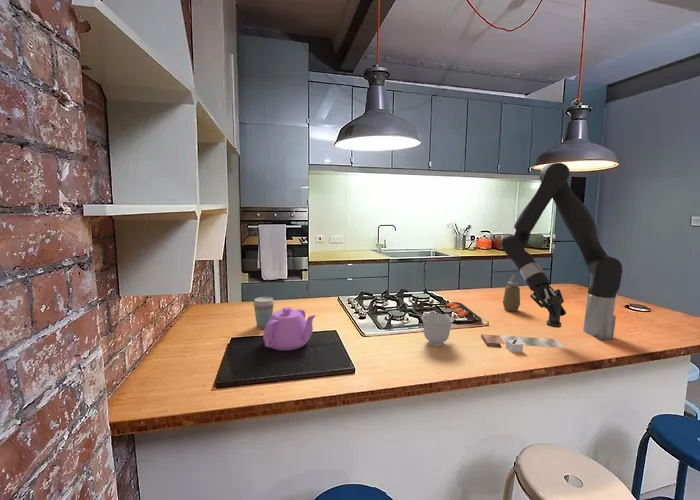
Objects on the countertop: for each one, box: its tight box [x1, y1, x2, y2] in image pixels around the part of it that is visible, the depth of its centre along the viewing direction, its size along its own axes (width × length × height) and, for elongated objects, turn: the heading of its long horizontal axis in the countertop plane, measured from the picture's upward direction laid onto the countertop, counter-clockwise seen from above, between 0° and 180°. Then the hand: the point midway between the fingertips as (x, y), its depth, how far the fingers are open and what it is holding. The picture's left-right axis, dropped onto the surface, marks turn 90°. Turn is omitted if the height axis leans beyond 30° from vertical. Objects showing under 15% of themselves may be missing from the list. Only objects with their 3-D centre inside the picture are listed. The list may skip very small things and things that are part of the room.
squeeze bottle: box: [502, 274, 521, 312], centre depth 171 cm, size 8×8×18 cm
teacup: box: [420, 312, 455, 347], centre depth 130 cm, size 12×15×10 cm
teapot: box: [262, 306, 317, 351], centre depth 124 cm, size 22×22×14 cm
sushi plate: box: [425, 301, 483, 323], centre depth 165 cm, size 29×30×4 cm
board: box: [480, 333, 567, 349], centre depth 130 cm, size 28×9×1 cm, turn 83°
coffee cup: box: [252, 296, 275, 330], centre depth 142 cm, size 8×9×12 cm
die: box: [505, 340, 524, 353], centre depth 122 cm, size 4×4×4 cm
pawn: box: [546, 295, 563, 329], centre depth 127 cm, size 5×5×12 cm
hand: (559, 315), depth 126 cm, fingers closed on pawn, 3 cm apart
